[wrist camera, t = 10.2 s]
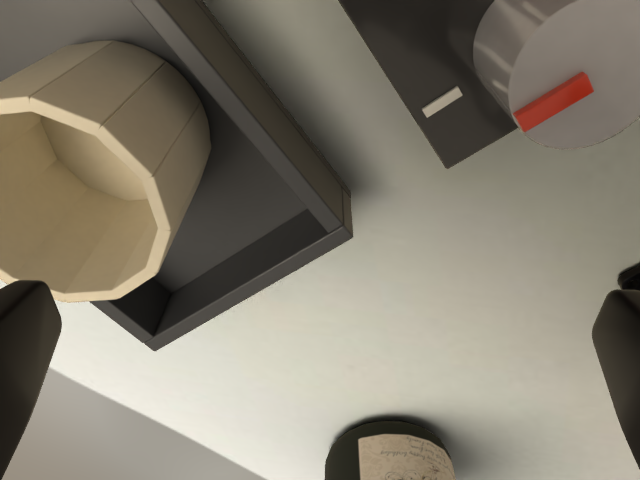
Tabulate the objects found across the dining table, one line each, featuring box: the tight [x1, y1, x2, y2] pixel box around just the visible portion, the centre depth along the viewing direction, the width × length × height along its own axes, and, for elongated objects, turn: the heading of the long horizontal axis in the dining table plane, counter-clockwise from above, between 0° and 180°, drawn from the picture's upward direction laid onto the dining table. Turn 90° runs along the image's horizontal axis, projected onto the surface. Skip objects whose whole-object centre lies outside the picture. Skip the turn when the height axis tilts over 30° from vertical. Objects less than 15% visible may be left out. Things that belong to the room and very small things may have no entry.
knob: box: [473, 0, 640, 149], centre depth 14 cm, size 4×4×4 cm
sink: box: [0, 0, 353, 351], centre depth 19 cm, size 16×11×4 cm
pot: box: [0, 40, 212, 303], centre depth 17 cm, size 7×7×6 cm
